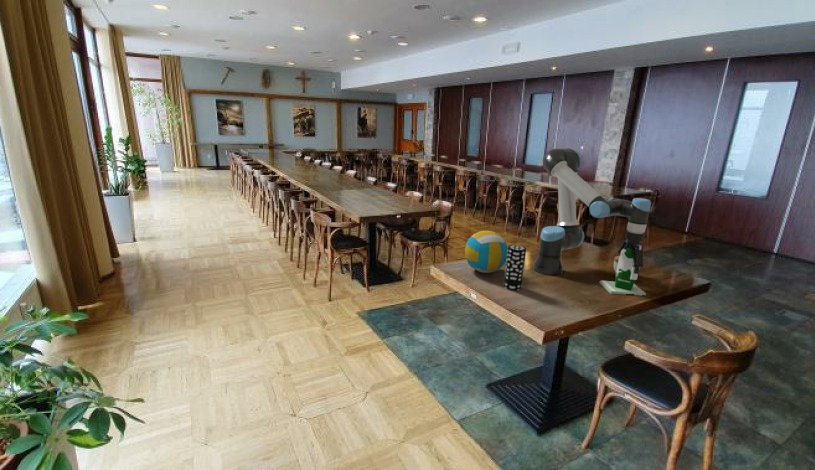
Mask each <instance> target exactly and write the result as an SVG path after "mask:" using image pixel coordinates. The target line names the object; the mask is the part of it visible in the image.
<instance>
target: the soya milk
mask: <svg viewBox="0 0 815 470" xmlns="http://www.w3.org/2000/svg"><path fill="white" fill-rule="evenodd" d="M632 251H636V250H631V249H630V248H627V249H626V250H625V249H623V250H622V251H621V253H620V254H621V255H620V258H619V261H618V266H617V271H616V272H615V276H614V277H615V279H614V280H615V281H614V282H615V287H617V288H621V289H625V290H630V291H631V290H632V287H633V285H634V284H635V282H636V280H632V279H630V277H631V272H632V268H633V265H634V261H633V253H632Z"/></svg>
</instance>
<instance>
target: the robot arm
mask: <svg viewBox="0 0 815 470" xmlns="http://www.w3.org/2000/svg"><path fill="white" fill-rule="evenodd" d="M582 160H583V159H582V156H581V153H580V152H579V151H578V150H577V149H574V148H551V149H550V150H548V151H547V152H545V154H544V156H543V158H542V165H543V168H544V169H545V171H546V172H547V173H548V174H549V175H550V176H552V177H554V178H555V177H556V178H557V192H558V193H557V194H558V196H557V197H558V215H559V216H558V217H559V218H558V219H559V221H558V223H556V225H549V226H545V227H543V228H542V229H541V233H540V236H539V237H540V239H539V246H538V254H537V256H536V258H535V261H534V262H533V266H532V269H533V270H534V271H535V272H538V273H541V274H544V275H548V276H549V275H550V276H556V275H557V276H558V275H561V274H562V273H563V270H564V268H563V261H562V253H563V251H565V250H569V249H575V248H577V247H580V246H581V245H582V244H583V243H584V239H585V232H584V231H583V229H582V228H581V227H580V222H578V220H577V207H576V205H577V203H576V201H577V200H576V197H577V198H578V199H579V200H580V201H581V202H583V204H585V205H586V206H587V207H588V208H589V213H590V215H591V216H592V217H593V218H599V219H601V218H606V217H607V218H608V217H614V216H621V217H626V218H628V223H627V226H626V233H625V237H624V238H623V241H622V242H621V245H620V247H619V248H618V251H617V253H618V256H620V255H621V254H620V253H621V251H622V250H623V249H625V250H626V249H627V248H630V249H631V250H636V251H632V253H633V261H634V265H633V268H632V272H631V277H630V279H632V280H635V281H636V280H638V276H639V271H640V269H639V268H643V267H644V252H643V251H644V245H640V243H641V242H643V241H644V238H645V232H646V228H647V224H648V219H649V217H650V216H649V215H650V212H651V207H652V206H651V205H652V202H651V200H650V199H647V198H642V197H636V198H635V197H634V198H633V199H632V201H631V200H627V199H621V198H618V197H610V198H608V199H606V198H605V197H604V196H602V195H601V194H600V193H599V192H597V190H596V189H595V188H593V187H592V186H591V185H590V184H588V182H586V181H585V180H584V179H583V177H581V176H580V175H579V174H578V173H579V171H578V170H579V168H580V167H581V165H582V163H583V162H582ZM619 258H620V257H619Z"/></svg>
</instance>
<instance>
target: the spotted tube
mask: <svg viewBox="0 0 815 470" xmlns="http://www.w3.org/2000/svg"><path fill="white" fill-rule="evenodd" d="M507 247H508V251H507V260H506V262H505V270H504V276H503V277H504V278H503V288H504V289H506V290H508V291H512V292H513V291H521V290H522V285H523V280H524V279H523V277H524V270H525V264H526V263H525V262H526V254H527V247H525V246H523V245H519V244H509V245H507Z"/></svg>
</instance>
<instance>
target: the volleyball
mask: <svg viewBox="0 0 815 470" xmlns="http://www.w3.org/2000/svg"><path fill="white" fill-rule="evenodd" d="M507 251H508V244H507V242H506V241H505V239H504V238H503V237H502V236H501V234H499V233H497V232H495V231H492V230H480V231H478V232H476V233H474V234H472V235H471V236H470V238H468V240H467V242H466V244H465V247H464V255H465V259H466V262H467V263H468V265H469V266H470V267H471V268H472V269H474V270H475V271H478V272H480V273H483V274H489V273H494V272H496V271H498V270H500V269H501V268H502V267H504V265H505V264H506V260H507Z"/></svg>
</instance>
